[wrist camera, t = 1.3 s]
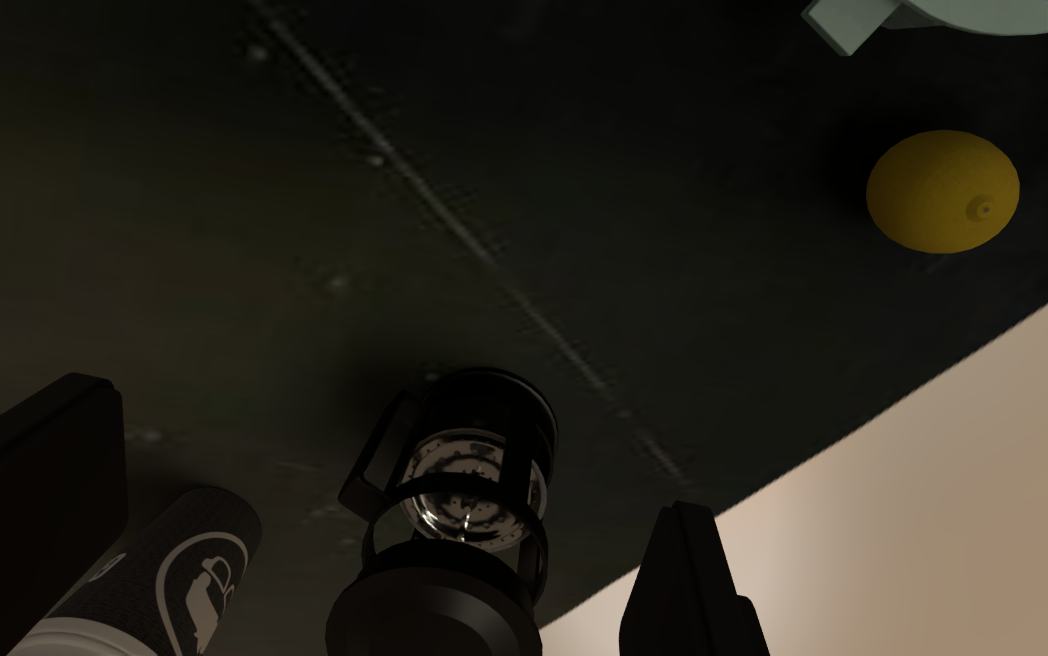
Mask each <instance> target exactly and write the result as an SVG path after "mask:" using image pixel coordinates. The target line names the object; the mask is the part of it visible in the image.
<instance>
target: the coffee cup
mask: <svg viewBox="0 0 1048 656" xmlns="http://www.w3.org/2000/svg"><path fill="white" fill-rule="evenodd" d="M260 540H261V525H260V522H259V519H258V517H257V515H256V514H255V512H254V511H253V510H252V508H251V507H250V506H249V505H248V504H247V503H246V502H245V501H243V500H242V499H241V498H239V497H238V496H236V495H234V494H232V493H230V492H228V491H225V490H221V489H217V488H210V487H203V488H196V489H193V490H190V491H188V492H186V493H184V494H183V495H182V496H181V497H179V498H178V499H177V500H176V501H175V502H174V503H173V504H172V505H171V506H170V507H168V508H167V509H166V510H165V511H164V512H163V513H162V514H161V515H160V516H159V517H157V518H156V519H155V520H154V521H153V522H152V523H151V524H150V525H149V526H148V527H147V528H145V529H144V530H143V531H142V532H141V533H140V534H139V535H138V536H137V537H136V538H134V539H133V540H132V541H131V542H130V543H129V544H128V545H127V546H126V547H125V548H123V549H122V550H121V551H120V552H119V553H118V554H117V555H116V556H115V557H114V558H112V559H111V560H110V561H109V562H108V563H107V564H106V565H105V566H104V567H103V568H101V569H100V570H99V571H98V572H97V573H96V574H95V575H94V576H93V577H91V578H90V579H89V580H88V581H87V582H86V583H85V584H84V585H83V586H82V587H80V588H79V589H78V590H77V591H76V592H75V593H74V594H73V595H72V596H70V597H69V598H68V599H67V600H66V601H65V602H64V603H63V604H62V605H60V606H59V607H58V608H57V609H56V610H55V611H54V612H53V613H51V614H50V615H49V616H48V617H47V618H46V619H43V620H40V621H39V622H38V623H37V624H36V625H35V626H34V627H33V628H32V629H31V630H30V632H29V633H28V634H27V635H26V636H25V637H24V638H23V639H22V640H21V641H20V642H19V643H18V644H17V645H16V646H15V647H14V648H13V649H12V650H11V651H10V652H9V654H8V655H7V656H202V654H203V652H204V650H205V648H206V646H207V644H208V642H209V640H210V638H211V636H212V634H213V632H214V631H215V629H216V627H217V625H218V623H219V621H220V619H221V617H222V615H223V613H224V611H225V609H226V607H227V605H228V603H229V601H230V599H231V597H232V595H233V593H234V592H235V590H236V588H237V586H238V584H239V582H240V580H241V578H242V576H243V574H244V572H245V570H246V568H247V566H248V564H249V562H250V560H251V559H252V557H253V555H254V553H255V551H256V549H257V547H258V545H259V543H260Z"/></svg>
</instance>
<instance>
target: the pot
mask: <svg viewBox="0 0 1048 656" xmlns="http://www.w3.org/2000/svg"><path fill="white" fill-rule="evenodd" d="M801 16H802V17H803V18H804V19H805V20H806V21H807V22H808V24H809V25H810V26H811V27H812V28H813V29H814V30H815V31H816V32H817V33H818V34H819V35H820V36H821V37H822V38H823V39H824V40H825V41H826V42H827V43H828V44H829V45H830V46H831V47H832V48H833V49H834V50H835V51H836V52H837V53H838V54H839V55H840V56H850V55H852V54H853V53H854V52H855V51H856V49H857V48H858V47H859V46H860V45H861V44H862V43H863V42H864V41H865V40H866V39H867V38H868V37H869V36H870V35H871V34H872V33H873V32H874V31H875V30H876V29H877V28H878V27H879V26H882V27H885V28H888V29H904V28H915V27H927V26H938V25H942V24H940V23H938V22H936V21H933V20H931V19H929V18H926V17H924V16H922V15H921V14H919V13H918V12H916V11H915V10H913V9H912V8H910V7H909V6H907V5H905V4H904V3H902V2H901V1H900V0H813V1H812V2H811V3H810V4H809V5H808V6H807V7H806V8H805V9H804V11H803V12H802V13H801Z"/></svg>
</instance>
